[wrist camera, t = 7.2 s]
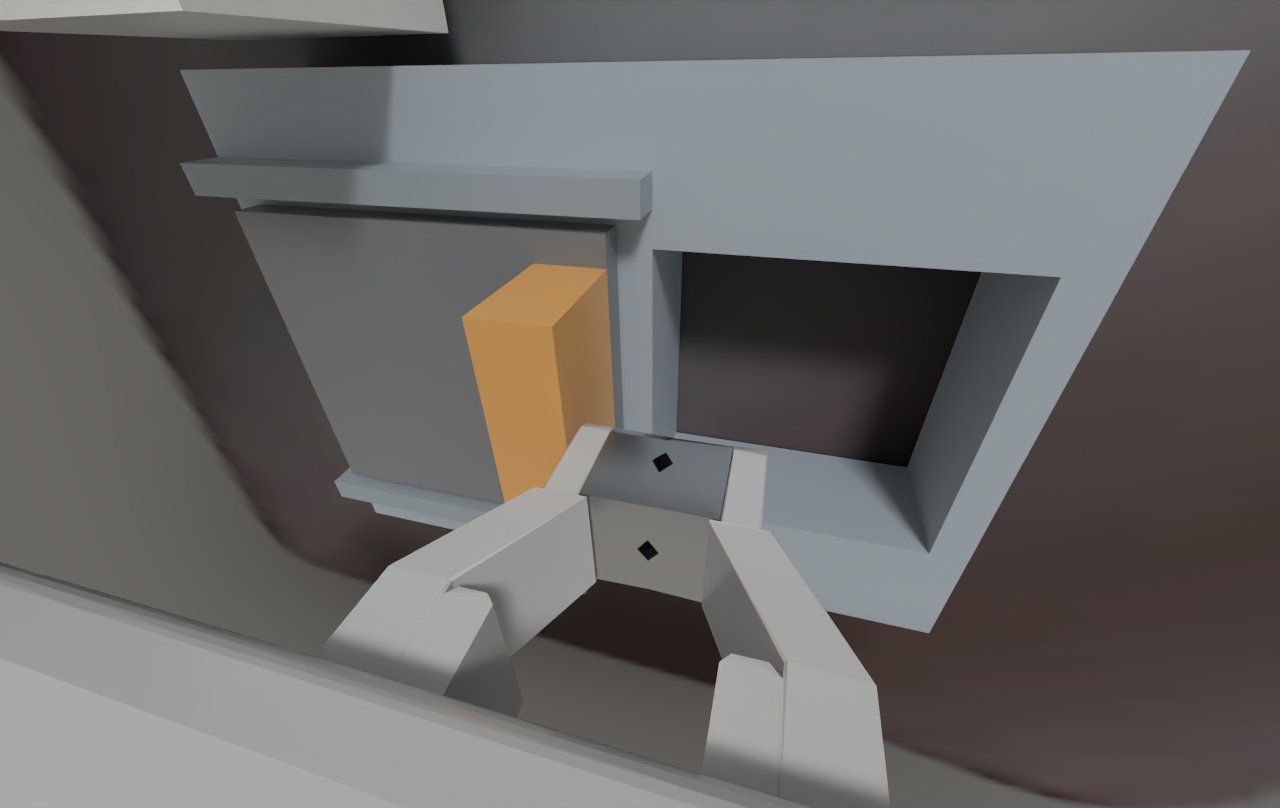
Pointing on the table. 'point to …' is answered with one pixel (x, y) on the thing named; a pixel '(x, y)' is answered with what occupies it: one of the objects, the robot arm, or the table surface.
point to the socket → (776, 233)
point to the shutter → (448, 338)
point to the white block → (225, 18)
